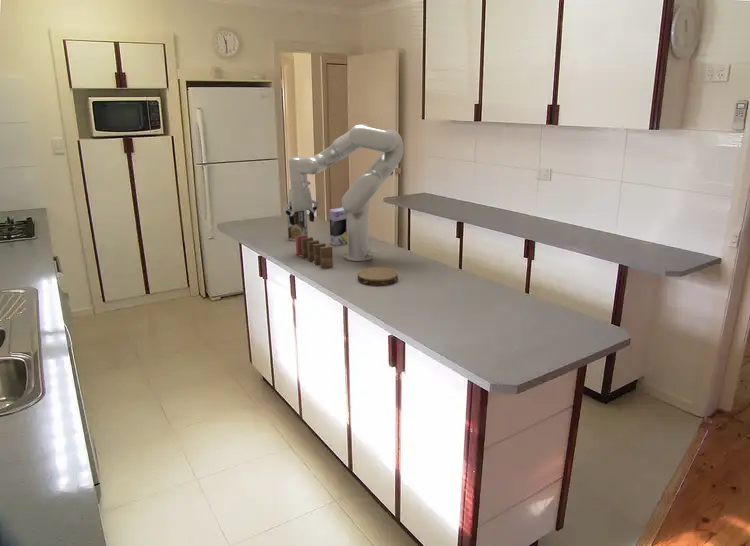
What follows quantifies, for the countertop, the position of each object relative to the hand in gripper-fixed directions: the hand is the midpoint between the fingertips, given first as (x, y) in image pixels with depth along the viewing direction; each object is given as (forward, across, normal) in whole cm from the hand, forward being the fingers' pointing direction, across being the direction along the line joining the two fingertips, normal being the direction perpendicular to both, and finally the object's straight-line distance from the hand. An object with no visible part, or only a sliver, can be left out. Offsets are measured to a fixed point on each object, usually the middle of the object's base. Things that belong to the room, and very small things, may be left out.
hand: (302, 222), depth 246 cm
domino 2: (+15, +1, +11) cm, 19 cm away
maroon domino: (+15, +1, -1) cm, 15 cm away
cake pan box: (+16, -28, -10) cm, 34 cm away
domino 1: (+15, +1, +5) cm, 16 cm away
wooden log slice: (+17, -8, +49) cm, 52 cm away
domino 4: (+16, +1, +23) cm, 28 cm away
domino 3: (+16, +1, +17) cm, 23 cm away
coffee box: (+15, -10, -28) cm, 33 cm away
